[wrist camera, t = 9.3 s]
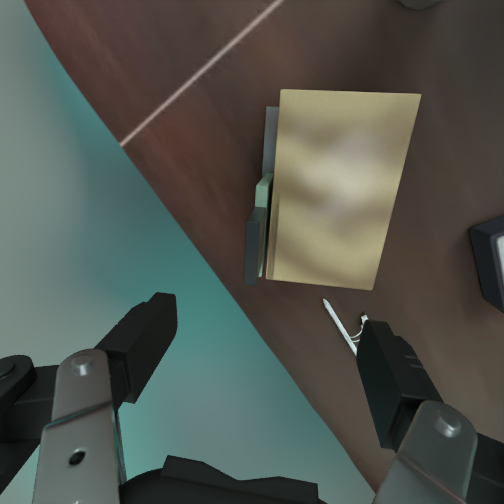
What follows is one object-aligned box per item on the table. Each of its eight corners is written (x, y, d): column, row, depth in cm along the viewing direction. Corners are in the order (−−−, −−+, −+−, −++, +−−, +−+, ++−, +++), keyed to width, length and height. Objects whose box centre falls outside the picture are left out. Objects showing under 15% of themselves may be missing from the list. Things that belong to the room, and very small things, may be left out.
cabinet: (266, 107, 31) (254, 88, 20) (375, 111, 30) (422, 93, 19) (258, 238, 37) (245, 276, 26) (348, 246, 36) (372, 290, 25)
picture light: (320, 298, 39) (322, 306, 37) (349, 285, 38) (352, 293, 36) (362, 366, 43) (366, 376, 41) (389, 356, 41) (394, 367, 39)
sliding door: (266, 172, 33) (247, 196, 18) (275, 173, 33) (262, 197, 18) (262, 238, 36) (242, 304, 21) (269, 239, 36) (254, 306, 21)
